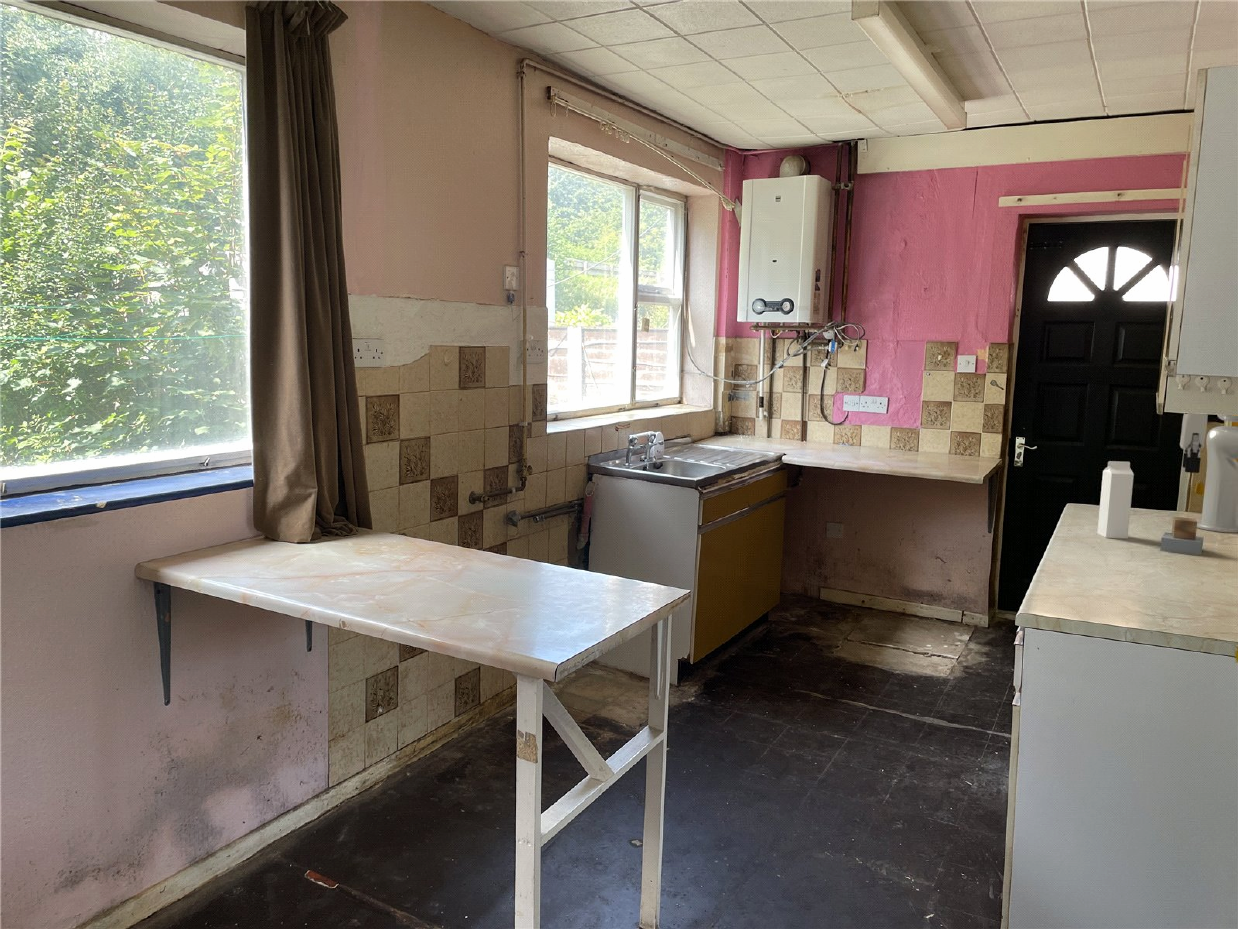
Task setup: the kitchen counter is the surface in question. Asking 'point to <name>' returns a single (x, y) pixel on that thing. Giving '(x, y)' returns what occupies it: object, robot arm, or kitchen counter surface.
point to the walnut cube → (1184, 528)
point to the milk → (1115, 500)
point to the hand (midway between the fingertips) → (1190, 470)
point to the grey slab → (1181, 544)
